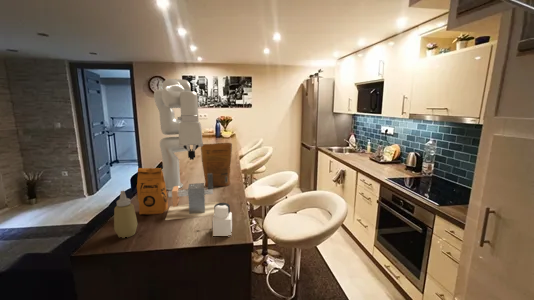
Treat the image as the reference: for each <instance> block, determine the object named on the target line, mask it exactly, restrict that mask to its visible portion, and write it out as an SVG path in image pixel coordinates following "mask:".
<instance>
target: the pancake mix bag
mask: <svg viewBox="0 0 534 300" xmlns="http://www.w3.org/2000/svg"><path fill="white" fill-rule="evenodd" d="M232 150H233V143H231V142H218V143H217V142H216V143H203V146H201V147H200V155H201V163H202V170H203V171H202V172H203V176H204V180H205V182H204V187H206V188H208V176H207V173H213V188H215V187H217V188H218V187H228V186H231V178H230V175H231V163H232V152H233V151H232Z"/></svg>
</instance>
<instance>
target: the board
mask: <svg viewBox="0 0 534 300" xmlns="http://www.w3.org/2000/svg"><path fill="white" fill-rule="evenodd" d="M218 203H220V202H219V201H213V202H211V201H210V202H209V201H208V202H205V212H204V213H194V214H189V203H188V204H178V207H173V205H170V206H168V207H169V208H168V209H167V213H166V215H165V216H166V217H165V219H164V220H165V221H169V220H179V219H181V220H182V219H190V218H200V217H211V216H214V206H215V205H216V204H218Z"/></svg>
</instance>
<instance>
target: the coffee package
mask: <svg viewBox="0 0 534 300" xmlns="http://www.w3.org/2000/svg"><path fill="white" fill-rule="evenodd" d="M136 183H137V184H136V192H137V199H138V200H137V202H138V209H139V210H138V214H139V215H151V216H152V215H157V214H159V215H160V214H164V213H165V212H166V211H168V210H169V208H168V207H169V205H168V202H169V201H168V200H169V199H168V192H167V190H166V185H165V181H164V175H163V168H162V167H160V168H159V167H155V168H154V167H138V168H137V180H136Z"/></svg>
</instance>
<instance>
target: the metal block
mask: <svg viewBox="0 0 534 300" xmlns="http://www.w3.org/2000/svg"><path fill="white" fill-rule="evenodd" d="M204 188H205V182H197V183H189V184H188V188H187V189H188V196H187V197H188V204H189V214H194V213H204V212H205V203H206V201H205V200H206V199H205V195H204Z"/></svg>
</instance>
